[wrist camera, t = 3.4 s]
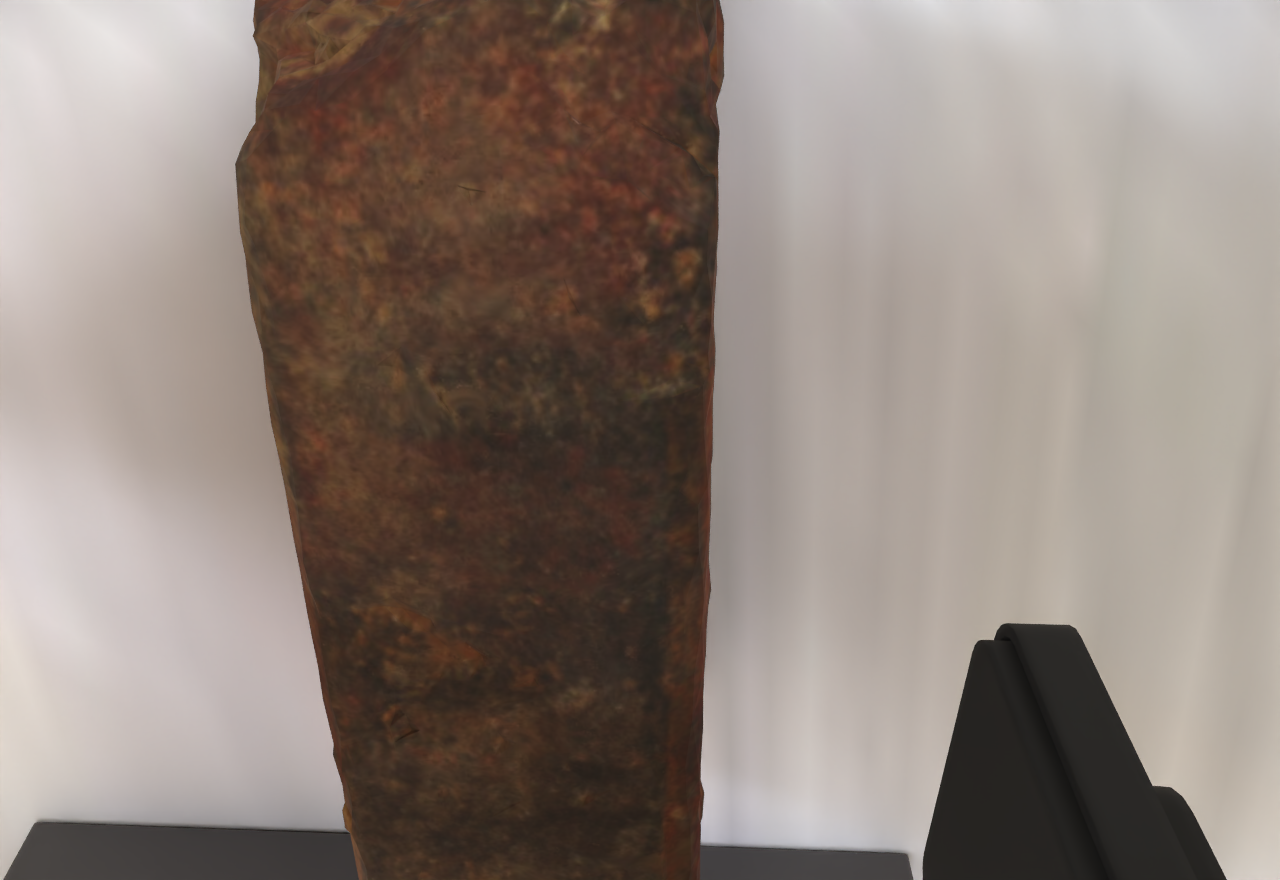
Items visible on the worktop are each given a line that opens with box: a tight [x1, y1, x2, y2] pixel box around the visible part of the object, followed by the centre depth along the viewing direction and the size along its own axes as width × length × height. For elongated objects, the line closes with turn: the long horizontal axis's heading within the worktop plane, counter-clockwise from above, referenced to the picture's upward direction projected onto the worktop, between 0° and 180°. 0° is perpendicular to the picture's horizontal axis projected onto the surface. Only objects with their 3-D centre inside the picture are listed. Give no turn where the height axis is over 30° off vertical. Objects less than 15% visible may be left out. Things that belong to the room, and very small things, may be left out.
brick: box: [235, 0, 724, 880], centre depth 13 cm, size 11×4×5 cm, turn 0°
